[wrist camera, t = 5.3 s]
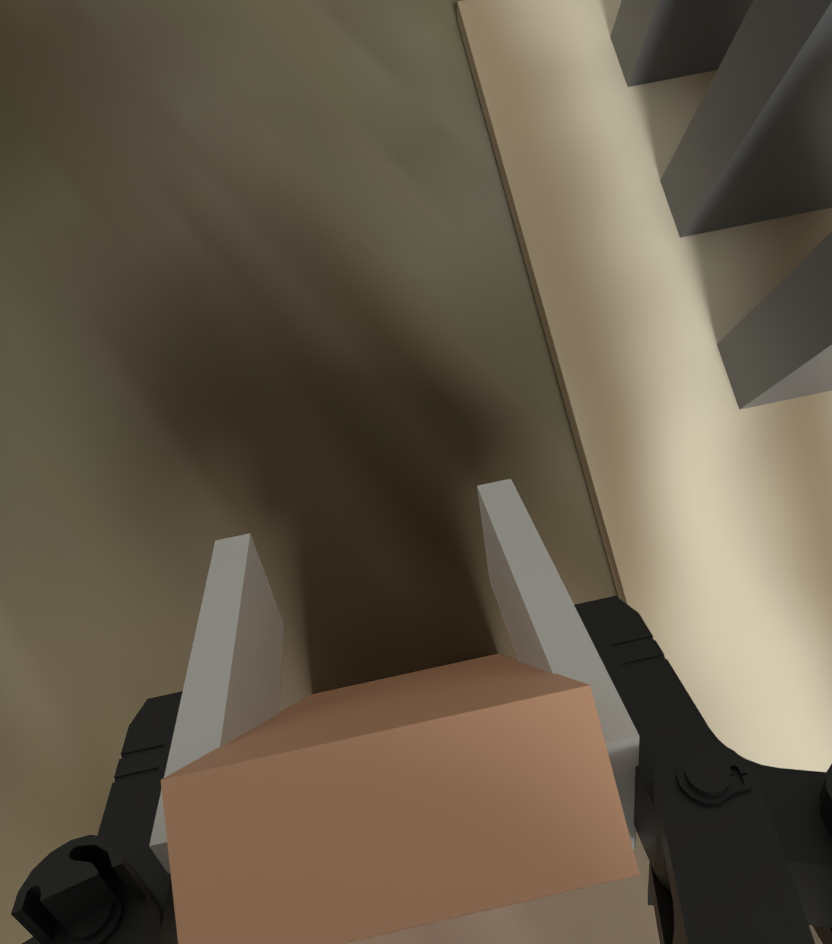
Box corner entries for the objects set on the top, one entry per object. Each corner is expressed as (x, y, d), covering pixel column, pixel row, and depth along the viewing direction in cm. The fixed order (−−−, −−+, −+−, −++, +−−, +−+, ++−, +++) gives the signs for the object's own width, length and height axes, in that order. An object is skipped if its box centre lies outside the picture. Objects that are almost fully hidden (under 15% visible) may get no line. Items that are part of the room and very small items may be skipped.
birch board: (677, 807, 16) (686, 813, 16) (456, 18, 22) (457, 1, 22) (1204, 686, 17) (1232, 688, 16) (851, -56, 23) (862, -74, 22)
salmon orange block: (516, 732, 17) (639, 875, 7) (325, 774, 17) (181, 980, 7) (498, 653, 17) (590, 685, 8) (312, 694, 17) (160, 779, 7)
